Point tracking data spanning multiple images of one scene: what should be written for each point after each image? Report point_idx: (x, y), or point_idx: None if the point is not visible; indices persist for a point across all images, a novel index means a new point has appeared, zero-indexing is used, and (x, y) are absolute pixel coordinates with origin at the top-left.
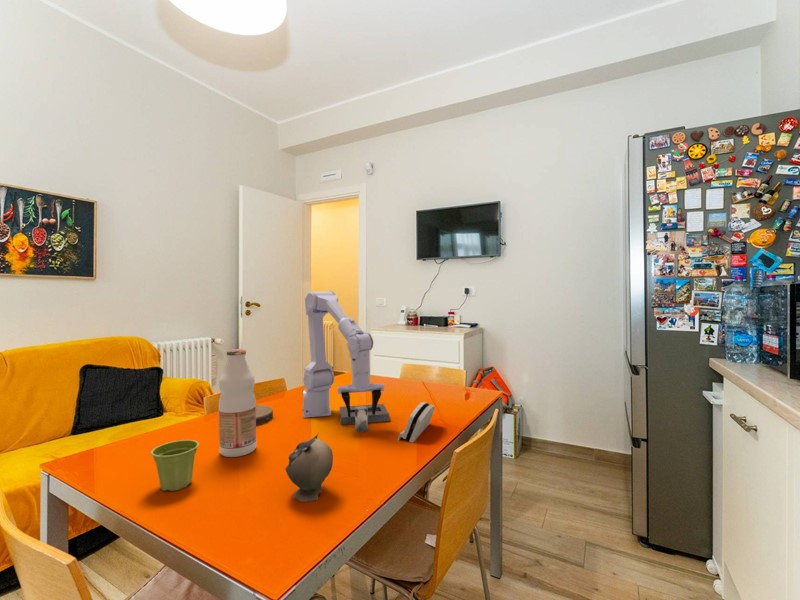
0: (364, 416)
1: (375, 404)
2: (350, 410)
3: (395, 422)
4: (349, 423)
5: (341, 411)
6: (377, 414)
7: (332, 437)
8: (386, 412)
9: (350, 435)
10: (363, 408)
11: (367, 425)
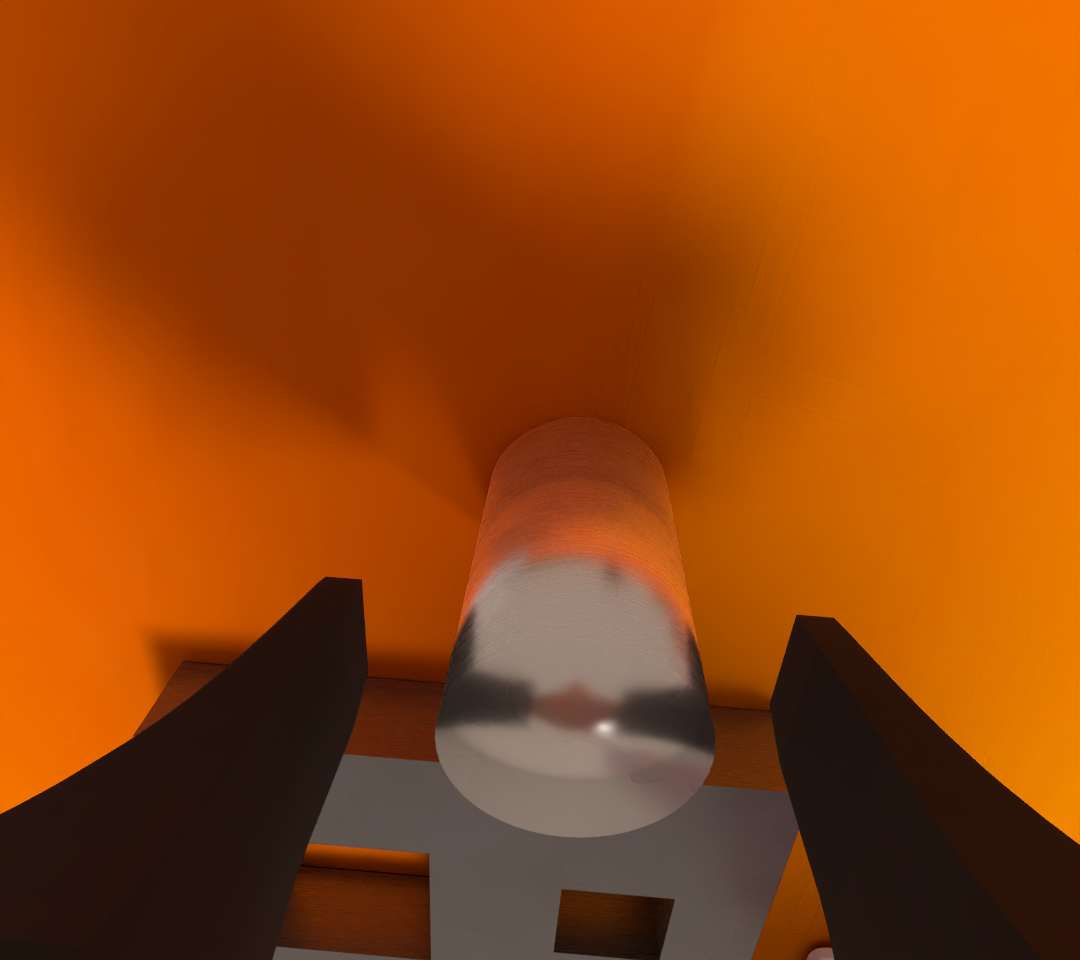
0: (533, 553)
1: (216, 709)
2: (619, 950)
3: (102, 609)
4: None
5: (739, 947)
6: None
7: (1063, 355)
8: None
9: (781, 351)
10: (528, 717)
11: (489, 497)
